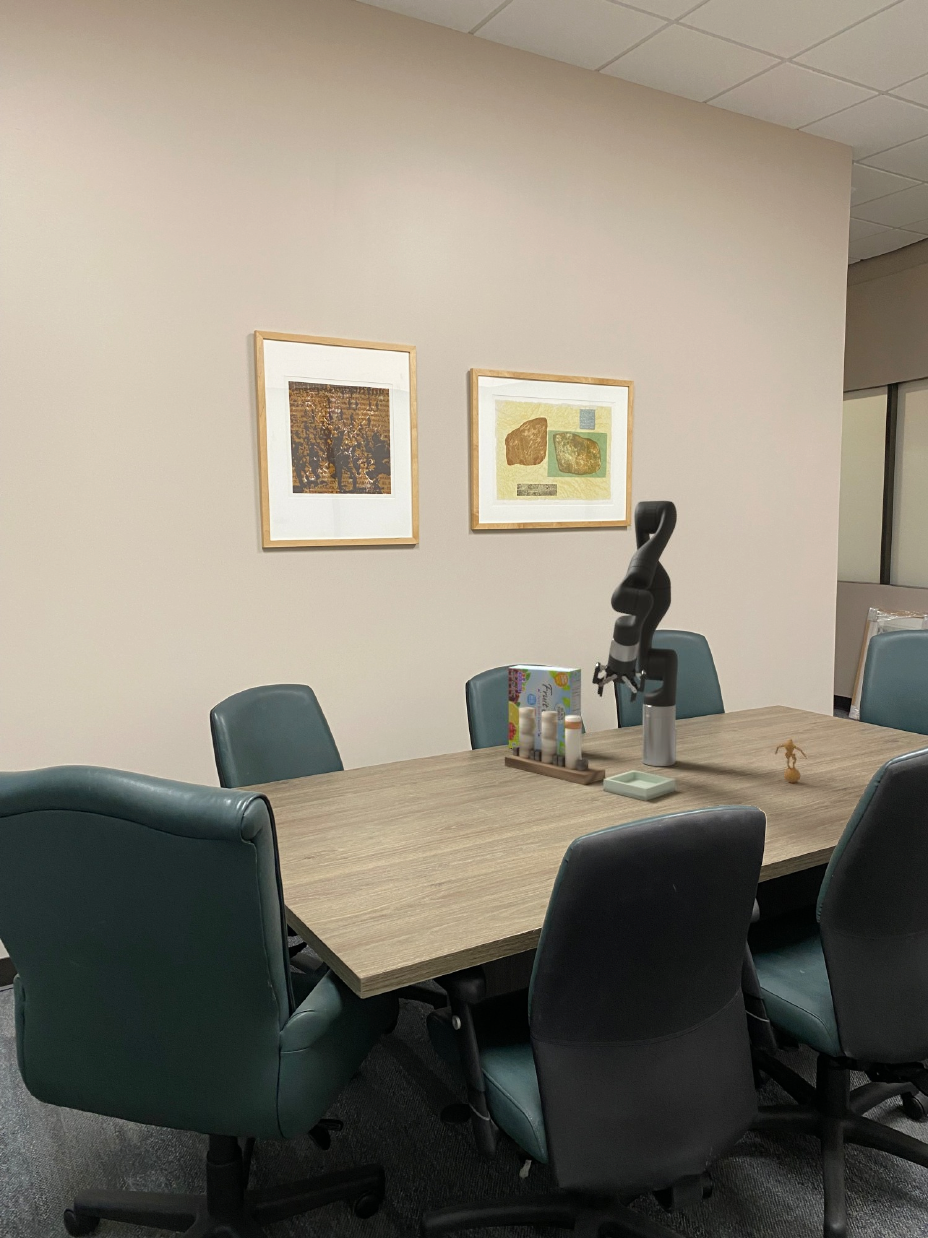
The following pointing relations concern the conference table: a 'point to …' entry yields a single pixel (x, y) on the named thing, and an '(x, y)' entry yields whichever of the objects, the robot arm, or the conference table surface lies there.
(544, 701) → the snack box
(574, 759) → the marked fuse
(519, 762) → the rail
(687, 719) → the conference table surface
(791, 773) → the figurine
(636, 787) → the tray
